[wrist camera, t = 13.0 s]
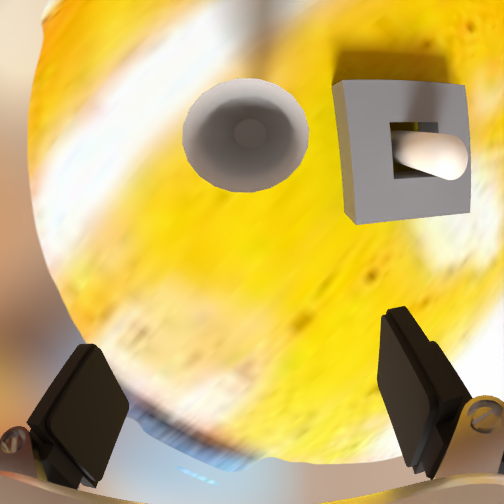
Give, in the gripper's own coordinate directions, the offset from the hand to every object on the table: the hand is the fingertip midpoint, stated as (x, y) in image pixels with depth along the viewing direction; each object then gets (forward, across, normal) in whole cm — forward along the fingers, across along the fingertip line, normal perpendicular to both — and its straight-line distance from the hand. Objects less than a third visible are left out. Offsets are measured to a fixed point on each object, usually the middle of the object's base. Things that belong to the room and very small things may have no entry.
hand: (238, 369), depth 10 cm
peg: (+29, -18, -3) cm, 34 cm away
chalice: (+29, -1, -7) cm, 30 cm away
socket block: (+29, -18, -3) cm, 34 cm away
